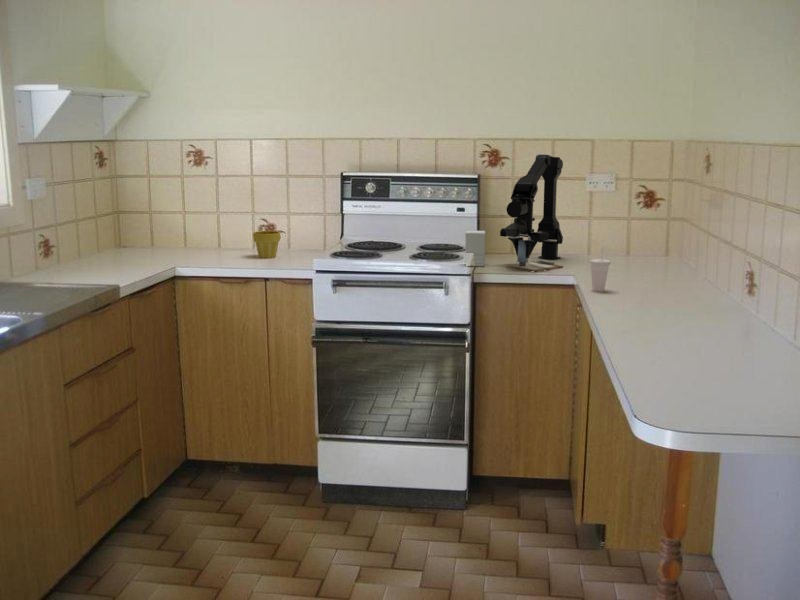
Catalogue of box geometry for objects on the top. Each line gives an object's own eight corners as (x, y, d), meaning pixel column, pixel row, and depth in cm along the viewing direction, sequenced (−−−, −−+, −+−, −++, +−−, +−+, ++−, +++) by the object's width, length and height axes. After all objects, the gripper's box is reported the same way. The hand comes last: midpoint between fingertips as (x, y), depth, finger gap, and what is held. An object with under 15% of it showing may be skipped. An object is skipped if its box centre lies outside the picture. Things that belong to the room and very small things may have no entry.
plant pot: (259, 259, 319) (258, 234, 317) (250, 256, 328) (249, 231, 326) (284, 258, 324) (284, 233, 322) (274, 254, 333) (274, 229, 331)
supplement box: (484, 263, 316) (485, 230, 314) (484, 266, 309) (485, 232, 306) (465, 263, 317) (465, 230, 314) (464, 266, 310) (465, 232, 307)
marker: (521, 264, 310) (522, 239, 308) (529, 265, 307) (530, 240, 305) (515, 265, 308) (516, 240, 306) (523, 266, 305) (524, 241, 303)
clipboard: (533, 262, 319) (533, 259, 319) (562, 267, 309) (563, 264, 309) (505, 267, 308) (505, 263, 308) (535, 272, 298) (535, 268, 298)
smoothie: (597, 293, 262) (599, 249, 259) (583, 289, 268) (586, 246, 265) (612, 291, 265) (615, 247, 262) (599, 288, 271) (602, 245, 268)
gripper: (490, 214, 305) (489, 256, 308) (530, 219, 292) (528, 263, 295) (510, 212, 312) (509, 253, 316) (550, 216, 299) (548, 259, 302)
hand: (523, 257), depth 307 cm, fingers closed on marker, 4 cm apart
